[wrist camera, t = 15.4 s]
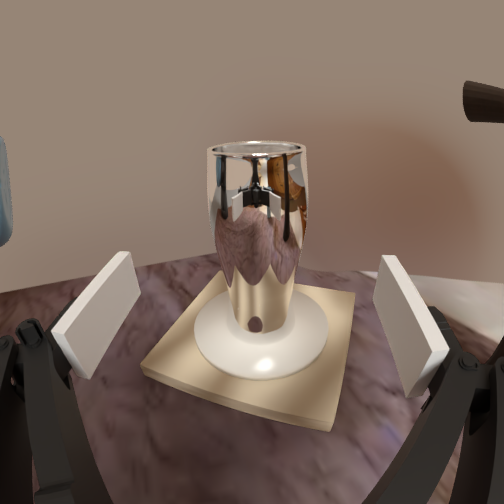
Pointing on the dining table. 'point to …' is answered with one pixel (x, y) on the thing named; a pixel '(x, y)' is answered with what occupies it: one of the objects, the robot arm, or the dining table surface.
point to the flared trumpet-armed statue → (485, 110)
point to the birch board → (260, 392)
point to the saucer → (261, 357)
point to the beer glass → (258, 232)
